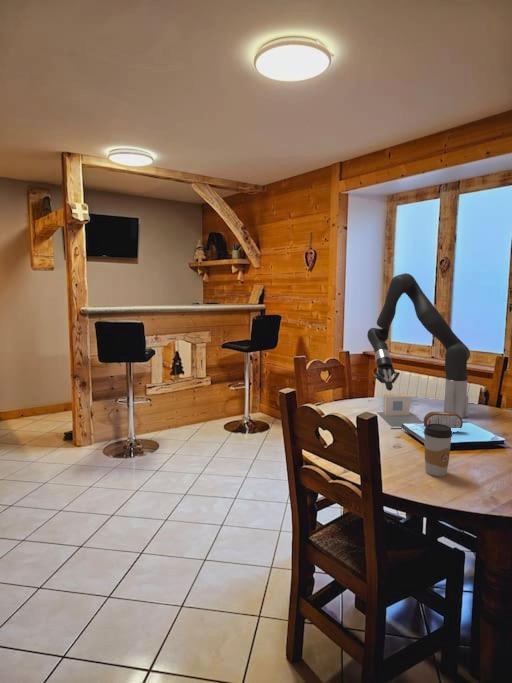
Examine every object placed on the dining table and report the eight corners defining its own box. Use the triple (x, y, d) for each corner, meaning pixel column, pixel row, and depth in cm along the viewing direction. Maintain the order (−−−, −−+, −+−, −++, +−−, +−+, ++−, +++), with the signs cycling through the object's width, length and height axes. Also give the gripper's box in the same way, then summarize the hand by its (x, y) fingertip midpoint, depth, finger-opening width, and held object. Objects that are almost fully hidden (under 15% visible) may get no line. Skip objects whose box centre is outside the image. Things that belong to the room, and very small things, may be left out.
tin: (460, 431, 183) (461, 411, 182) (463, 434, 180) (464, 413, 179) (422, 430, 184) (423, 410, 183) (424, 432, 181) (425, 412, 180)
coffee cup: (436, 480, 136) (438, 432, 134) (416, 470, 143) (418, 424, 142) (456, 475, 139) (458, 429, 137) (435, 466, 147) (437, 421, 145)
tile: (407, 413, 205) (407, 394, 204) (409, 415, 202) (410, 396, 201) (383, 413, 205) (383, 394, 204) (385, 415, 202) (385, 396, 201)
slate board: (410, 414, 208) (410, 412, 208) (429, 429, 186) (429, 426, 186) (376, 414, 208) (376, 412, 208) (391, 429, 186) (391, 426, 186)
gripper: (371, 355, 220) (378, 385, 209) (398, 356, 220) (405, 385, 210) (368, 364, 226) (374, 393, 215) (394, 364, 226) (401, 393, 216)
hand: (390, 389), depth 213 cm, fingers closed
